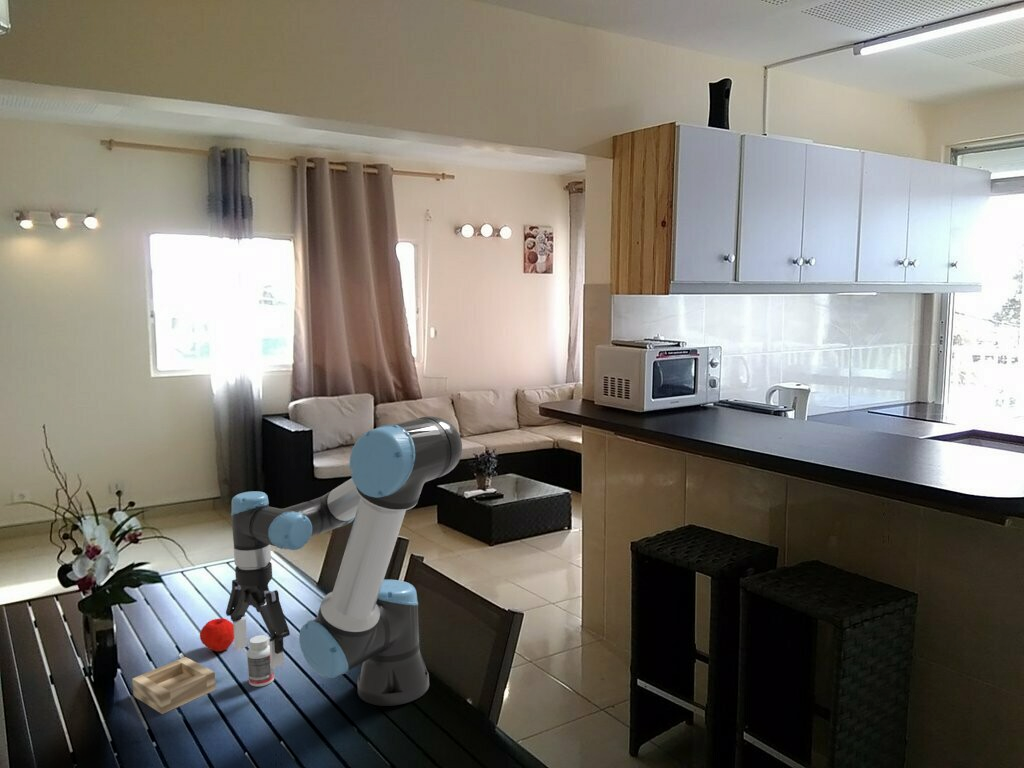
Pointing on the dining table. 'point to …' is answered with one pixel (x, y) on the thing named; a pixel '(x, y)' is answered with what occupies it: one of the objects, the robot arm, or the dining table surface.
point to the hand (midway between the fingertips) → (258, 656)
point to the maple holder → (173, 684)
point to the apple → (217, 634)
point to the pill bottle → (259, 662)
